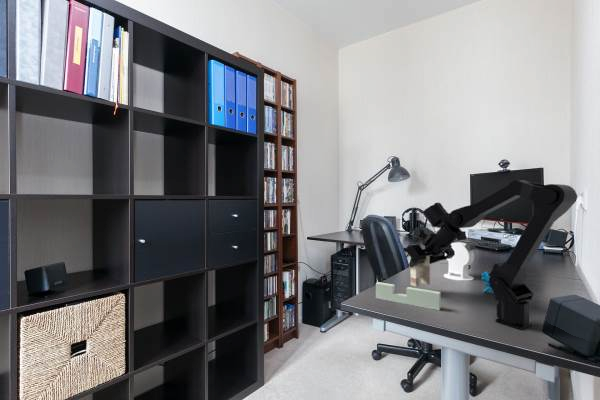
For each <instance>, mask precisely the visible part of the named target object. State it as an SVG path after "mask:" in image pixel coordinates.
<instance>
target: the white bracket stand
mask: <svg viewBox="0 0 600 400" xmlns="http://www.w3.org/2000/svg"><path fill="white" fill-rule="evenodd" d="M451 246H452V249H453V250H454V251H455V255H454V256H453V257H452V258H449V259H446V261H447V262H448V271H447V273H444V274H443V277H444V278H446V279H449V280H452V281H458V282H459V281H461V282H471V281H473V280H474V277H473V276H471V275H469V270H471V264H472V263H473V262H474V261H475V259H476V255H475V254H476V253H475V250H476V248H477V247H476V245H475V243H465V242H459V241H458V242H455V241H454V242H453V243H452V244H451ZM446 255H447V254H446V253H445V256H446Z"/></svg>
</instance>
